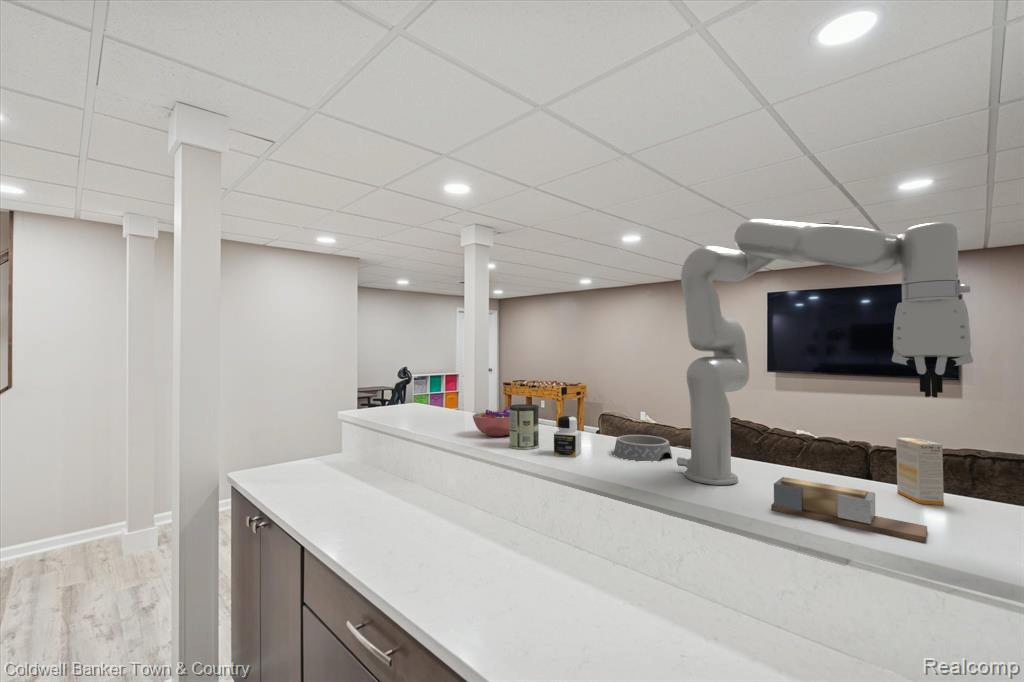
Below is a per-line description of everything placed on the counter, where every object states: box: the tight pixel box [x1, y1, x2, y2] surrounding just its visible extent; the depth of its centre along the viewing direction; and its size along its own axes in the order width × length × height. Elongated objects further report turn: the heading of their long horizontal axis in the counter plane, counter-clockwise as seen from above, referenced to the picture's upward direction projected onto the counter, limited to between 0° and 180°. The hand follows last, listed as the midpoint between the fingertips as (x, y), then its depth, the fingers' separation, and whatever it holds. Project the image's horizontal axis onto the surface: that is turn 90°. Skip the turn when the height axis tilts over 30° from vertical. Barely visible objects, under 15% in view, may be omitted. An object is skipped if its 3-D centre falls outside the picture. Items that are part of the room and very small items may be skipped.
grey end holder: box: [773, 476, 803, 511], centre depth 97 cm, size 5×7×4 cm
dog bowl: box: [612, 434, 673, 463], centre depth 147 cm, size 17×18×5 cm
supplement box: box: [895, 437, 945, 506], centre depth 104 cm, size 8×5×13 cm, turn 168°
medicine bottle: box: [553, 415, 582, 458], centre depth 148 cm, size 7×7×12 cm
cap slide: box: [838, 490, 876, 524], centre depth 89 cm, size 5×7×4 cm
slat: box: [781, 477, 868, 516], centre depth 93 cm, size 14×4×5 cm, turn 46°
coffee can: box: [508, 403, 540, 451], centre depth 160 cm, size 10×10×14 cm
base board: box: [770, 502, 928, 544], centre depth 91 cm, size 24×7×1 cm, turn 46°
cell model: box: [472, 405, 510, 437], centre depth 180 cm, size 17×20×11 cm
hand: (931, 396), depth 82 cm, fingers closed
